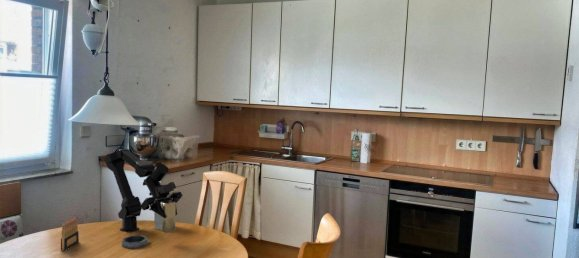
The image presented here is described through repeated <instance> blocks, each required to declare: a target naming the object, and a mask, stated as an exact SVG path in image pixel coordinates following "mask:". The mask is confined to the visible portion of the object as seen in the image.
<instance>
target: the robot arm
mask: <svg viewBox="0 0 579 258" xmlns="http://www.w3.org/2000/svg"><path fill="white" fill-rule="evenodd" d="M104 163H105V165H106V167H107V168H108V169H109V170H110V171H111V172H112V173H113V175H114V178H115V181H116V182H115V183H116V184H117V186H118V190H119V192H120V195H121V199H122V201H121V204H120V207H121V209H120V210H119V211H118V213H117V215H118V219H122V220H121V221H122V224H121V225H122V227H120V228H119V231H122V232H127V233H131V232H134V231H137V230H139V229H140V227H138V220H137V217H141V212H142V211H147V210H149V211H152V212H155V213H157V214H159V215H160V216H162V217H163V218H166V215H165V213H164V211H163V209H162V207H161V203H162V202H165V201H175V202H176V204H177V203H179V201H180V200H181V198H183V193H182V192H181V191H175V190H176V188H177V186H176V184H175V183H174V181H171V182H168V183H167V184H162V183H161V182H162V181H163V180H164V179H165V177H166V176H167V175H168V173H169V171H170V170H169V167H168V165H165V164H164V163H162V162H161V161H157V162H155V165H154V164H153V163H151V162H149V161H144V160H142V159H141V158H139V157H138V156H137V155H135V154H134V153H133V152H131V151H130V149H128V148H123V149H122V148H121V149H118V150H116V151H115V152H112V153H107V154H106V156H105V157H104ZM125 163H126V164H128V165H130V166H131V168H133V169H134V173H135V174H136V175H137V177H139V178H145V179H143V182H142V186H146V188H147V189H148V190H149V193H148V195H149V196H150V197H146V198H145V199H144V200H143V202H141V200H140V197H139V196H135V195H134V194H133V191H132V189H131V186H130V182H129V179H128V177H127V174H126V172H125V169H124V167H125ZM173 191H174V192H173ZM171 192H172V193H171ZM177 215H178V210H177V208H176V210H175V217H176V216H177Z"/></svg>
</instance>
